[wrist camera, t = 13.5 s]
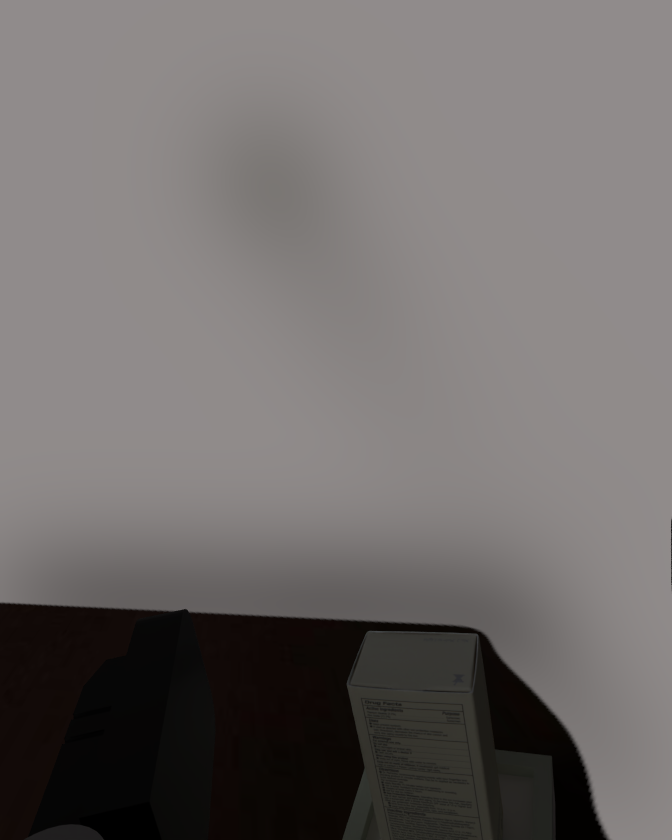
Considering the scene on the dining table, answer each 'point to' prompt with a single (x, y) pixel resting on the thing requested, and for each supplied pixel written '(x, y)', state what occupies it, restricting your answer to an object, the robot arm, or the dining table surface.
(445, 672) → the skincare box
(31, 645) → the dining table surface
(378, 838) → the shallow open tray
